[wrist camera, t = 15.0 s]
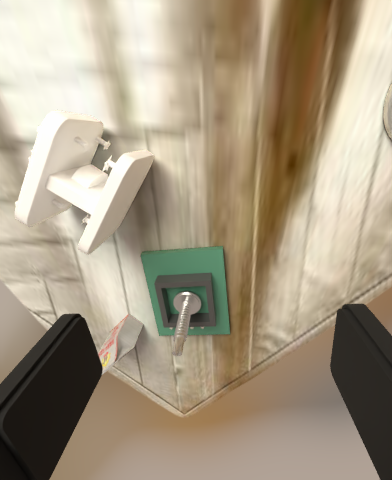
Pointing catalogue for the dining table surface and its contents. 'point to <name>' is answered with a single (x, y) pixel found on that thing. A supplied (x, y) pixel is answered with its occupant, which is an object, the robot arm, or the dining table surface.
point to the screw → (184, 317)
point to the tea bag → (120, 341)
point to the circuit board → (188, 288)
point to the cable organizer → (79, 177)
